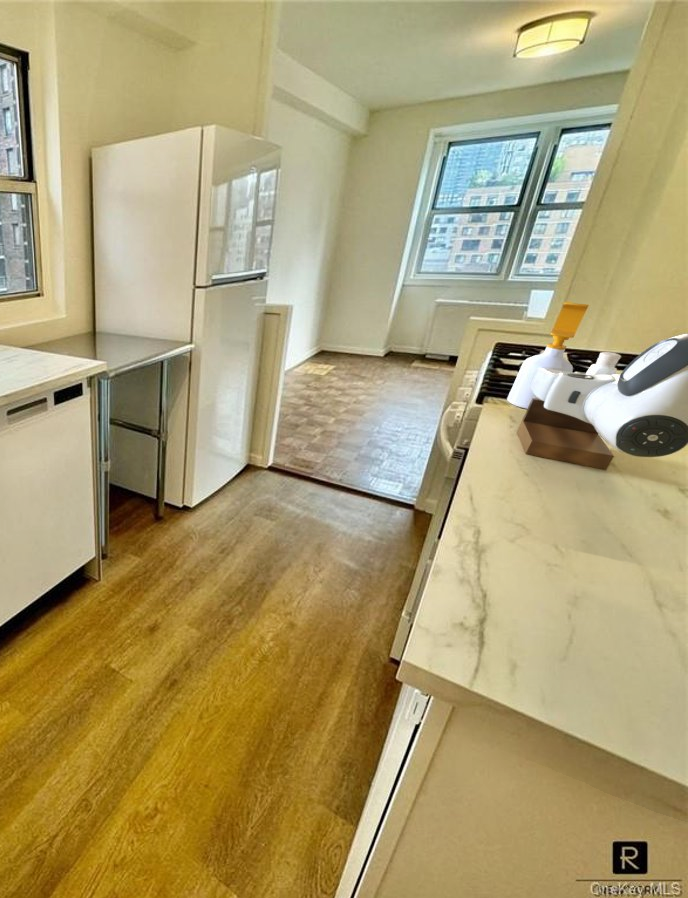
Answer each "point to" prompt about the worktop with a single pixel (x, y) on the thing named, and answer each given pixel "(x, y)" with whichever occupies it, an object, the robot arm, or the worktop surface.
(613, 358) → the pepper shaker
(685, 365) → the robot arm
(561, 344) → the soap bottle
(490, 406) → the worktop surface
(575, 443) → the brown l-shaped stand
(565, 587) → the worktop surface
